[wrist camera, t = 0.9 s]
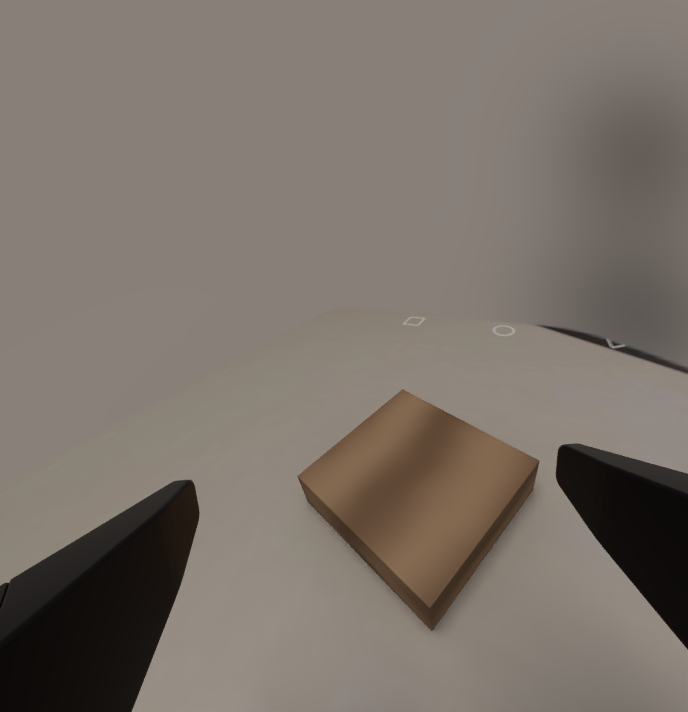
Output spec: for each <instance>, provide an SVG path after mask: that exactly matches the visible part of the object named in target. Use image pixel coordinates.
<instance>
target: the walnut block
mask: <svg viewBox="0 0 688 712" xmlns="http://www.w3.org/2000/svg"><path fill="white" fill-rule="evenodd" d="M538 465H539V460H537V459H535V458H533V457H531V456H529V455H527V454H525V453H524V452H522V451H520V450H518V449H516V448H514V447H512V446H510V445H508V444H506V443H504V442H502V441H501V440H499V439H497V438H495V437H493V436H491V435H489V434H487V433H485V432H483V431H481V430H479V429H478V428H476V427H474V426H472V425H470V424H468V423H466V422H464V421H462V420H460V419H458V418H456V417H455V416H453V415H451V414H449V413H447V412H445V411H443V410H441V409H439V408H437V407H435V406H434V405H432V404H430V403H428V402H426V401H424V400H422V399H420V398H418V397H416V396H414V395H412V394H411V393H409V392H407V391H405V390H401V391H400V392H399V393H398V394H396V395H395V396H394V397H393V398H392V399H390V400H389V401H388V402H387V403H386V404H384V405H383V406H382V407H381V408H380V409H378V410H377V411H376V412H375V413H373V414H372V415H371V416H370V417H369V418H367V419H366V420H365V421H364V422H363V423H361V424H360V425H359V426H358V427H356V428H355V429H354V430H353V431H352V432H350V433H349V434H348V435H347V436H346V437H344V438H343V439H342V440H341V441H340V442H338V443H337V444H336V445H335V446H333V447H332V448H331V449H330V450H329V451H327V452H326V453H325V454H324V455H323V456H321V457H320V458H319V459H318V460H316V461H315V462H314V463H313V464H312V465H310V466H309V467H308V468H307V469H306V470H304V471H303V472H302V473H301V474H300V475H298V479H299V481H300V484H301V486H302V489H303V491H304V493H305V496H306V498H307V501H308V502H309V503H310V504H311V505H312V506H313V507H314V508H315V509H316V511H317V512H318V513H319V514H320V515H321V516H322V517H323V518H324V519H325V520H326V521H327V522H328V523H329V524H330V525H331V526H332V527H333V528H334V529H335V530H336V531H337V532H338V534H339V535H340V536H341V537H342V538H343V539H344V540H345V541H346V542H347V543H348V544H349V545H350V546H351V547H352V548H353V549H354V550H355V551H356V552H357V553H358V554H359V555H360V557H361V558H362V559H363V560H364V561H365V562H366V563H367V564H368V565H369V566H370V567H371V568H372V569H373V570H374V571H375V572H376V573H377V574H378V575H379V576H380V577H381V578H382V580H383V581H384V582H385V583H386V584H387V585H388V586H389V587H390V588H391V589H392V590H393V591H394V592H395V593H396V594H397V595H398V596H399V597H400V598H401V599H402V600H403V601H404V603H405V604H406V605H407V606H408V607H409V608H410V609H411V610H412V611H413V612H414V613H415V614H416V615H417V616H418V617H419V618H420V619H421V620H422V621H423V622H424V623H425V625H426V626H427V627H428V628H429V629H430V630H431V631H432V630H433V629H434V627H435V626H436V625H437V623H438V622H439V620H440V619H441V618H442V616H443V615H444V613H445V612H446V611H447V609H448V608H449V606H450V605H451V604H452V602H453V601H454V599H455V598H456V597H457V595H458V594H459V592H460V591H461V590H462V588H463V587H464V585H465V584H466V583H467V581H468V580H469V578H470V577H471V576H472V574H473V573H474V571H475V570H476V569H477V567H478V566H479V564H480V563H481V562H482V560H483V559H484V557H485V556H486V555H487V553H488V552H489V550H490V549H491V548H492V546H493V545H494V543H495V542H496V541H497V539H498V538H499V537H500V535H501V534H502V532H503V531H504V530H505V528H506V527H507V525H508V524H509V523H510V521H511V520H512V518H513V517H514V516H515V514H516V513H517V511H518V510H519V509H520V507H521V506H522V504H523V503H524V502H525V500H526V499H527V497H528V496H529V495H530V493H531V492H532V490H533V487H534V482H535V478H536V474H537V469H538Z"/></svg>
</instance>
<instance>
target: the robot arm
mask: <svg viewBox="0 0 688 712" xmlns="http://www.w3.org/2000/svg"><path fill="white" fill-rule="evenodd" d="M556 479H557V482H558V484H559V486H560V487H561V489H562V490H563V492H564V493H565V495H566V496H567V497H568V499H569V500H570V502H571V503H572V505H573V506H574V508H575V509H576V510H577V512H578V513H579V515H580V516H581V518H582V519H583V521H584V522H585V524H586V525H587V526H588V528H589V529H590V531H591V532H592V533H593V535H594V536H595V538H596V539H597V540H598V542H599V543H600V544H601V545H602V547H603V548H604V549H605V550H606V552H607V553H608V554H609V555H610V556H611V558H612V559H613V560H614V561H615V562H616V564H617V565H618V566H619V567H620V568H621V570H622V571H623V572H624V573H625V575H626V576H627V577H628V578H629V579H630V581H631V582H632V583H633V584H634V585H635V587H636V588H637V589H638V590H639V591H640V593H641V594H642V595H643V596H644V597H645V599H646V600H647V601H648V602H649V603H650V605H651V606H652V607H653V608H654V610H655V611H656V612H657V613H658V614H659V616H660V617H661V618H662V619H663V620H664V622H665V623H666V624H667V625H668V626H669V628H670V629H671V630H672V631H673V632H674V634H675V635H676V636H677V637H678V639H679V640H680V641H681V642H682V643H683V645H684V646H685V647H686V648H687V649H688V474H687V473H683V472H679V471H676V470H672V469H669V468H665V467H661V466H658V465H654V464H650V463H647V462H643V461H640V460H636V459H632V458H629V457H625V456H622V455H618V454H614V453H611V452H607V451H603V450H600V449H596V448H593V447H589V446H585V445H582V444H565V445H561V446H560V447H559V449H558V456H557V467H556ZM198 521H199V506H198V501H197V495H196V490H195V485H194V483H193V481H192V480H180V481H174V482H172V483H170V484H168V485H167V486H165V487H163V488H162V489H160V490H158V491H157V492H155V493H153V494H152V495H150V496H149V497H147V498H145V499H144V500H142V501H140V502H139V503H137V504H135V505H134V506H132V507H130V508H129V509H127V510H125V511H124V512H122V513H120V514H119V515H117V516H115V517H114V518H112V519H110V520H109V521H107V522H105V523H104V524H102V525H100V526H99V527H97V528H95V529H94V530H92V531H90V532H89V533H87V534H86V535H84V536H82V537H81V538H79V539H77V540H76V541H74V542H72V543H71V544H69V545H67V546H66V547H64V548H62V549H61V550H59V551H57V552H56V553H54V554H52V555H51V556H49V557H47V558H46V559H44V560H42V561H41V562H39V563H37V564H36V565H34V566H32V567H31V568H29V569H27V570H26V571H24V572H23V573H21V574H19V575H18V576H16V577H14V578H13V579H11V580H10V582H9V583H4V584H2V585H1V586H0V712H132V709H133V707H134V704H135V702H136V699H137V696H138V694H139V691H140V689H141V686H142V684H143V681H144V678H145V676H146V673H147V671H148V668H149V666H150V663H151V660H152V658H153V655H154V653H155V650H156V648H157V645H158V642H159V640H160V637H161V635H162V632H163V630H164V627H165V624H166V622H167V619H168V617H169V614H170V612H171V609H172V607H173V604H174V601H175V599H176V596H177V593H178V591H179V588H180V585H181V582H182V579H183V575H184V572H185V568H186V565H187V561H188V557H189V554H190V550H191V546H192V543H193V539H194V536H195V532H196V528H197V525H198Z"/></svg>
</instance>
